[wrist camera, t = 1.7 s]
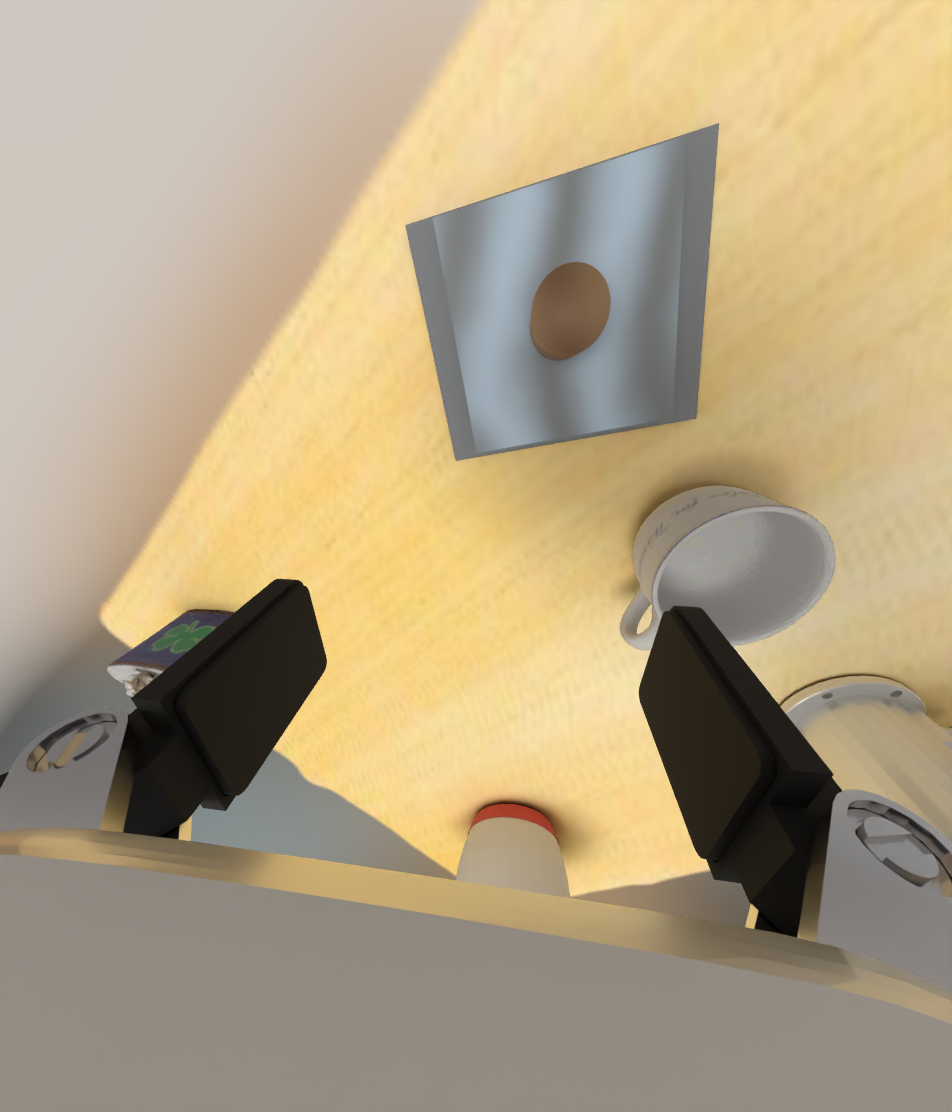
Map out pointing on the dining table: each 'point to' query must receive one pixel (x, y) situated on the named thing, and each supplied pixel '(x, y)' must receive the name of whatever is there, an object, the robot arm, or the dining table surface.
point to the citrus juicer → (513, 852)
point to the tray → (689, 306)
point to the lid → (569, 299)
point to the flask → (164, 648)
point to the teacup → (728, 564)
